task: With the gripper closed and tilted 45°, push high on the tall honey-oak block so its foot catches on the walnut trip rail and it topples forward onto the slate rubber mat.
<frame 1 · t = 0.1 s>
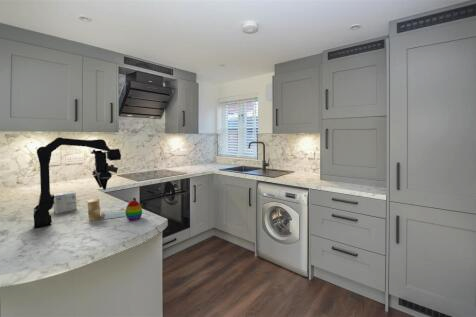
hand: (102, 188, 143), 15 cm above the countertop, tool pointing down, fingers open, 9 cm apart
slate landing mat: (113, 215, 140), on the countertop
oak block: (94, 218, 136), on the countertop
light bulb box: (65, 210, 152), on the countertop
decorative egg: (134, 219, 134), on the countertop
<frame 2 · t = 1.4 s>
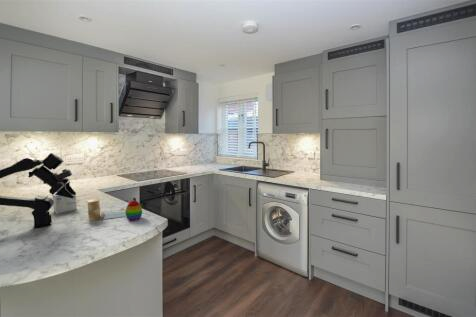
hand: (74, 195, 131), 13 cm above the countertop, tool tilted 45°, fingers open, 8 cm apart
nothing on the countertop moved.
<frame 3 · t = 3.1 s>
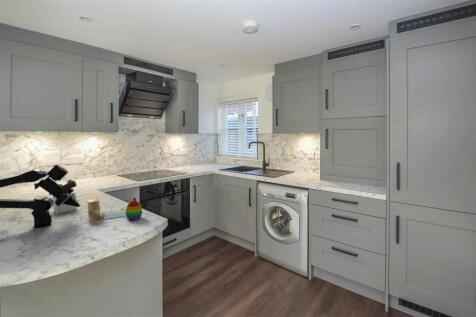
hand: (79, 206, 132), 8 cm above the countertop, tool tilted 45°, fingers closed
nothing on the countertop moved.
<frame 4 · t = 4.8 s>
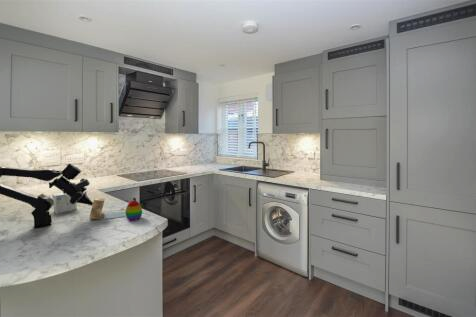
hand: (92, 204, 135), 8 cm above the countertop, tool tilted 45°, fingers closed, pressing on oak block
oak block: (94, 217, 136), point 1 cm above the countertop, tilted 17°, touching gripper
everything else where it was.
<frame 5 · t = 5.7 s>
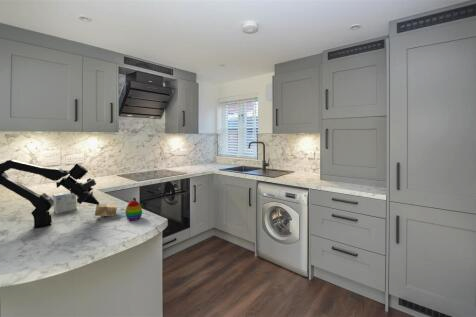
hand: (98, 204, 136), 8 cm above the countertop, tool tilted 45°, fingers closed
oak block: (96, 209, 135), point 5 cm above the countertop, tilted 102°, touching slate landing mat
everything else where it was.
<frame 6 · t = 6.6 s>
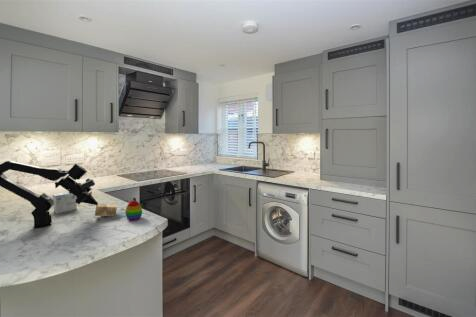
hand: (97, 204, 136), 7 cm above the countertop, tool tilted 45°, fingers closed, pressing on oak block
oak block: (95, 209, 135), point 5 cm above the countertop, tilted 101°, touching gripper, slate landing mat
everything else where it was.
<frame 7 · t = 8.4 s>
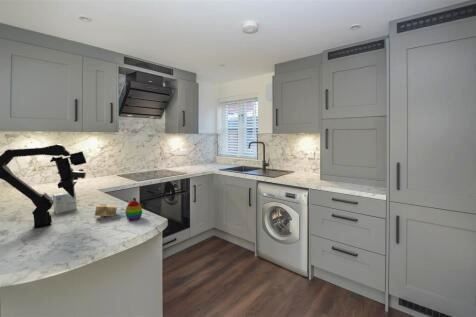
hand: (73, 196, 132), 13 cm above the countertop, tool pointing down, fingers closed
oak block: (96, 209, 135), point 5 cm above the countertop, tilted 102°, touching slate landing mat
everything else where it was.
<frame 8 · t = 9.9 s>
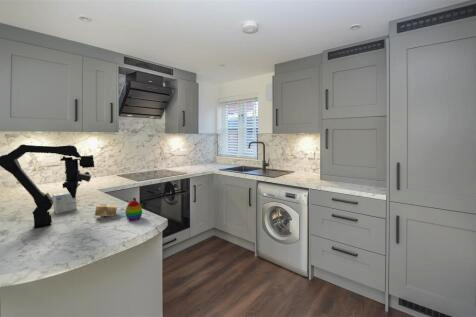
hand: (74, 198, 132), 12 cm above the countertop, tool pointing down, fingers closed
nothing on the countertop moved.
at the end: oak block tilted 102°; oak block inside the target area on the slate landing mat (7.3 cm from its centre), point 4.8 cm above the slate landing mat's base; the gripper is holding nothing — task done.
